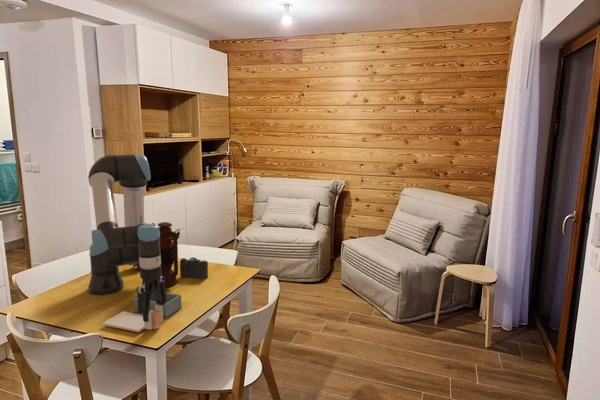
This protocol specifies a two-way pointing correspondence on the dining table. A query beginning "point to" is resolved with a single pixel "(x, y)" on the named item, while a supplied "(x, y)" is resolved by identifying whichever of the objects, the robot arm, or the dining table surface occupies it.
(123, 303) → the dining table surface
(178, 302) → the tub
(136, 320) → the lid
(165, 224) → the lantern
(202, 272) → the camera
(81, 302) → the dining table surface
